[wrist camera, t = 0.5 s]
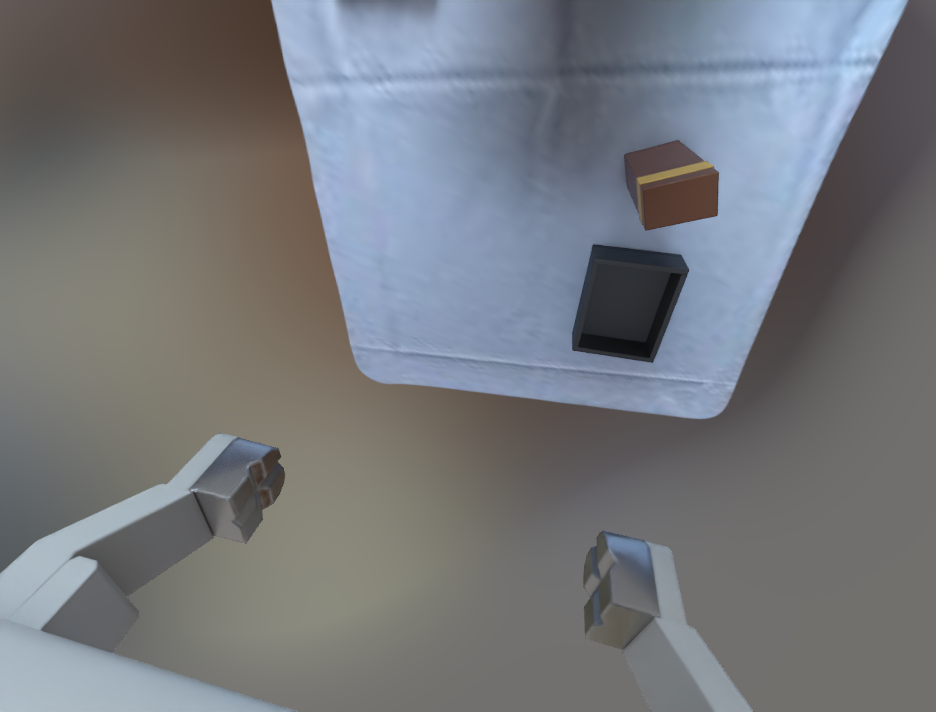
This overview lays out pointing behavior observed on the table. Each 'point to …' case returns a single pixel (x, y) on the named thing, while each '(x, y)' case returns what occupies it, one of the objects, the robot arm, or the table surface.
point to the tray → (627, 302)
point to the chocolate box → (671, 185)
